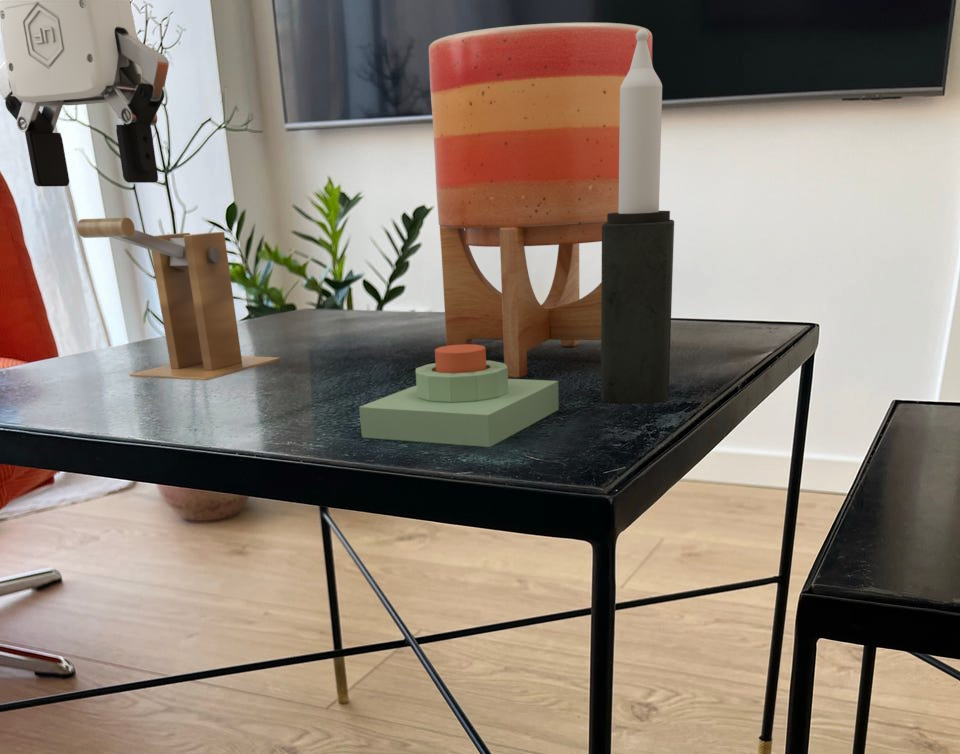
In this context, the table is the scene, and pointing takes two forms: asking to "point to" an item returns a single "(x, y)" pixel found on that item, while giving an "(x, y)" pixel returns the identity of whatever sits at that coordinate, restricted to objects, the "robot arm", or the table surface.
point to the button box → (460, 407)
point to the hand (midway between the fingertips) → (96, 184)
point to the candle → (637, 250)
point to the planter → (526, 172)
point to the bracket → (199, 312)
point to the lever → (134, 238)
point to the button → (460, 358)
